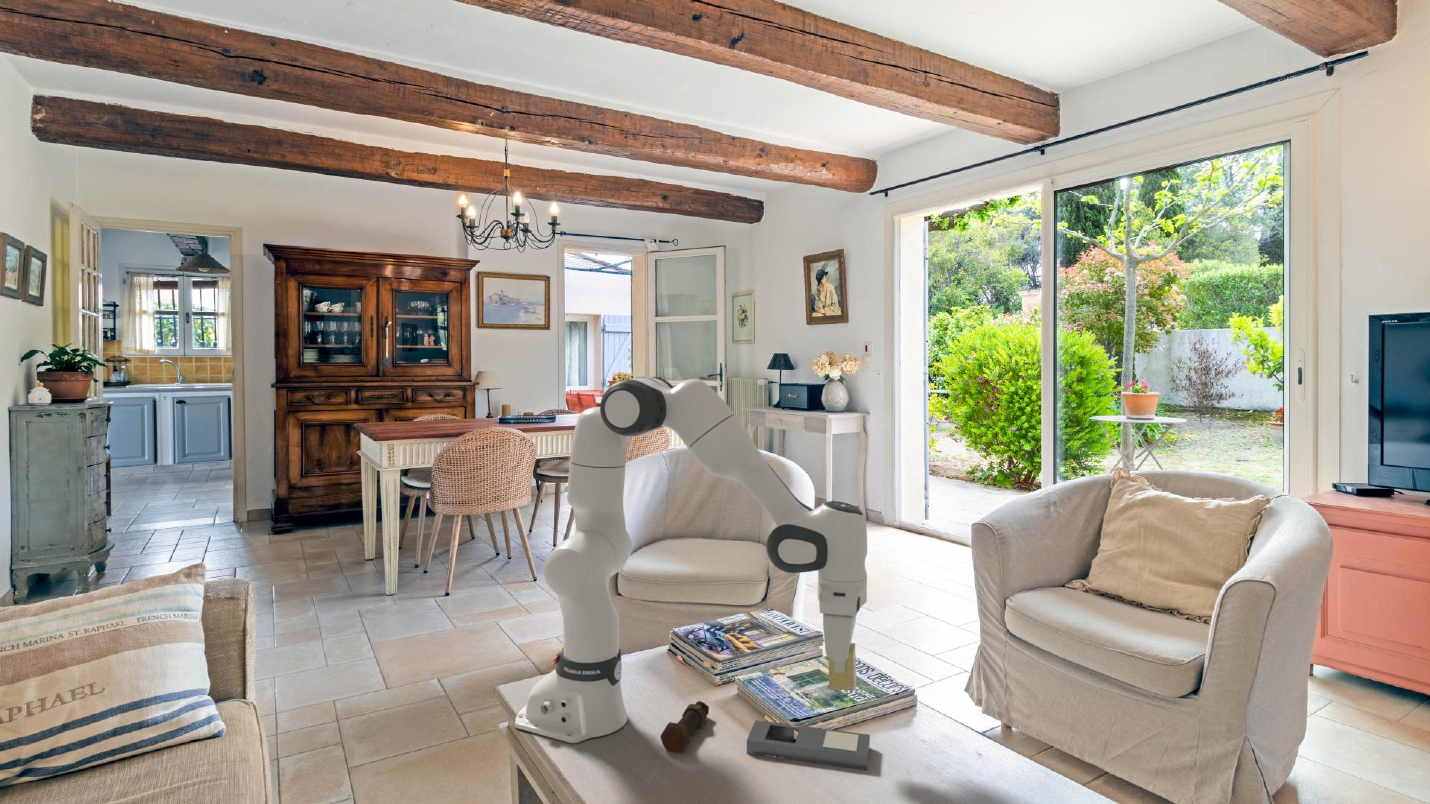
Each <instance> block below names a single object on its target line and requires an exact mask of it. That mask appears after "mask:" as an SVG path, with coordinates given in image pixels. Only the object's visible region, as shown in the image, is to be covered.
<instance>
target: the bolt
mask: <svg viewBox="0 0 1430 804" xmlns="http://www.w3.org/2000/svg"><path fill="white" fill-rule="evenodd" d="M709 710H710V707H709V705H708V704H706V703H705V702H703V701H700V700H699V701H696V703H689V704H688V705H687V707H686V708H685V710H684V711H683V713H682V715H681V719H680V720H679V721H677V722H671V721H670V722H668V723H667V725H666V726H665V727H664V729H663V731H662V733H661V735H660V740H661V743H662V745H663V747H664V749H665V750H666V751H667V752H670V753H675V754H683V752H684V751H685V750H686V749H687V747H688V745H689V744H690V742H691V740H692V738H691V736H690V735H691V734H692V733H693V732H694V730H700V729H701V728H702V727H703V725H704V724H705V722H706V720H707V719H708V717H707V716H708V714H709V712H710V711H709Z"/></svg>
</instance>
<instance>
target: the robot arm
mask: <svg viewBox="0 0 1430 804" xmlns="http://www.w3.org/2000/svg"><path fill="white" fill-rule="evenodd" d="M599 405H600V406H592V407H589V408H587V409H585V410H583V411H582V412H581V413H580V414H579V415H578V417H577V421H576V424H575V427H574V430H573V435H572V440H571V446H570V454H569V455H570V456H569V462H568V463H569V465H568V479H567V494H566V499H567V502H568V504H569V505H570V507H571V508H572V511H573V516H574V520H575V521H574V523H575V530H574V534H573V536H570V537H569V538H567V539H564V540H563V541H562V542H559V543H558V544H557V546H555V547H554V549H553V550H552V551H551V552H550V554H548V556H547V558H546V560H545V562H544V565H543V576H544V580H545V582H546V584H547V586H548V588H549V589H550V590H551V592H553V593H555V594H556V596H557V599H558V603H559V606H560V611H561V616H562V633H563V637H562V638H563V646H562V648H561V651H559V652H558V653H557V654H556V655H555V657H554V658H552V660H551V662H552V664H551V666H552V667H553V666H556V668H554V670H552V671H550V672H549V673H548V674H546V676H545V677H543V678H542V679H541V680H540V681H538V682H537V683H536V684H534V686H533V688H532V689H531V690H530V691H529V692H530V693H529V695H528V697H527V702H526V703H527V704H526V705H525V706H523V707H522V708H521V709H520V711H519V712H518V713H517V715H516V717H515V719H514V720H515V721H514V727H515V728H516V729H520V730H523V731H527V732H530V733H534V734H536V735H541V736H545V737H547V738H551V739H555V740H557V741H562V742H566V743H569V744H577V743H580V742H583V741H586V740H587V739H591V738H596V737H597V738H598V737H602V736H606V735H610V734H612V733H615V732H616V731H618V730H620V729H621V728H622V727H624V726H625V725H626V723H627V722H628V717H629V716H628V714H627V711H626V706H625V702H624V697H623V692H622V684H621V683H622V682H621V679H622V671H623V664H622V650H621V649H620V623H619V621H620V620H619V619H620V617H619V616H620V615H619V612H618V610H617V609H616V607H615V606H614V605H613V603H612V599H611V595H610V590H609V589H610V588H609V584H610V579H611V578H612V577H613V576H614V575H616V574H617V573H618V572H620V571H622V569H624V567H625V565H626V563H627V562H628V560H629V558H630V557H631V554H632V550H633V543H632V538H631V536H630V534H629V532H628V531H627V525H626V524H627V523H626V519H625V511H624V494H625V493H624V491H625V477H626V466H627V465H626V464H627V452H628V450H627V449H628V447H629V446H628V444H629V442H630V440H631V438H633V437H636V436H640V435H641V436H642V435H649V434H651V433H653V432H655V431H657V430H659V429H663V428H664V427H665V428H668V429H671V430H672V431H673V432H675V434H677V436H678V437H679V438H680V440H681V441H682V443H683V444H684V445H685V447H686V448H687V449H688V451H689V452H690V453H691V455H692V456H693V457H694V459H695V461H697V462H698V463H699V464H700V466H702V467H703V468H704V469H705V470H706V471H707V472H708V473H709V474H710V475H712V476H714V477H718V478H722V479H727V480H730V481H733V482H736V483H738V484H740V485H742V486H743V487H744V488H745V489H747V490H748V491H749V493H751V495H752V496H753V497H754V499H756V500H757V502H758V503H759V505H760V506H761V507H762V508H763V509H764V511H765V513H767V515H768V516H769V517H770V518H771V519H772V521H773V524H774V528H773V529H772V530H771V532H770V534H769V535H768V536H767V541H766V547H765V548H766V553H767V556H768V559H769V560H770V562H771V563H772V564H773V566H775V567H776V568H777V569H778V570H780V571H782V572H784V573H788V574H789V573H790V574H796V573H797V574H799V573H809V572H816V571H817V572H818V573H817V575H818V576H817V601H819V613H820V614H822V625H823V626H822V629H823V639H824V640H823V641H824V642H823V643H824V651H825V654H826V658H827V659H828V658H829V659H834V662H835V672H837V673H844V672H845V664H846V661H845V660H846V659H847V658H848V653H849V648H850V644H851V643H852V638H853V635H854V629H855V625H856V621H857V615H858V613H859V612H860V609H861V608H862V606H864V605H865V604H867V602H868V574H867V573H868V572H867V570H866V569H867V568H866V558H867V555H868V532H867V523H866V518H865V515H864V513H863V511H862V510H861V509H859V507H857V506H855V505H854V504H850V503H847V502H844V501H837V500H836V501H835V500H834V501H833V500H830V501H825V502H823V503H822V504H821V505H820V506H818V507H816V508H815V509H814V508H812V507H810V506H809V505H806V504H805V503H803V502H802V501H800V500H799V499H798V498H797V497H796V496H795V495H794V493H793V492H792V491H791V490H790V489H789V488H788V486H787V484H786V483H785V482H784V481H783V480H782V479H781V477H780V476H779V475H778V474H777V473H776V472H775V470H774V469H773V468H772V466H771V465H770V464H769V463H768V462H767V460H766V459H765V457H764V455H762V453H761V451H760V450H759V449H758V447H757V446H756V444H755V443H754V441H753V439H752V438H751V436H750V434H749V432H748V431H747V429H746V428H745V426H744V425H743V423H742V422H741V421H740V419H739V418H738V417H737V415H736V414H735V413H734V411H733V410H732V409H731V407H730V406H728V404H727V403H726V401H724V399H723V398H722V397H721V396H720V395H719V394H718V393H717V392H716V391H715V390H714V389H713V388H712V387H711V386H709V384H707V382H705V381H704V380H702V379H698V378H690V379H686V380H683V381H681V382H680V383H678V384H677V385H675V386H673V385H672V384H671V383H670V382H669V381H667V380H666V379H663V378H662V377H659V376H658V377H657V376H636V377H632V378H629V379H627V378H626V379H621V380H620V381H617V382H615V383H613V384H612V385H611V386H609V387H608V388H607V390H605V392H604V394H603V395H602V397H601V401H600V404H599ZM555 664H556V665H555Z"/></svg>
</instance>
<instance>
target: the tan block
mask: <svg viewBox="0 0 1430 804" xmlns="http://www.w3.org/2000/svg"><path fill="white" fill-rule="evenodd" d="M827 659H828V661H827V662H828V687H829V689H830V690H838V691H839V690H841V691H842V690H843V691H852V692H855V688H856V682H857V671H856V670H857V666H856V665H857V664H856V663H857V661H856V660H857V659H856V643H854V642H853V643H852V642H851V644H850V648H849V653H848V658H847V659H846V660H845V661H846V664H845V672H844V673H837V672H835V662H834V659H829V658H827ZM829 689H828V690H829Z"/></svg>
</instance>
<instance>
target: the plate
mask: <svg viewBox="0 0 1430 804" xmlns="http://www.w3.org/2000/svg"><path fill="white" fill-rule="evenodd" d="M788 724H789V723H780V722H774V721H767V720H758V719H756V720H755V721H754V722H753V725H752V728H751V730H750V732H749V734H748V737H747V739H746V754H749V753H752V754H751V755H756V754H760V755H759V756H763V755H769V756H768V757H770V756H776V757H775V758H777V757H783V758H782V759H784V758H787V760H791V759H794V760H793V761H799V762H806V763H813V764H814V763H815V764H820V763H824V764H823V765H827V764H828V765H829V766H834V765H837V766H836V767H841V766H843V767H842V768H849V769H857V770H864V771H868V765H869V759H870V757H869V756H870V747H871V746H870V745H871V742H870V741H871V740H870V739H871V734H868V733H867V734H866V733H860V732H851V731H844V730H838V729H837V730H836V729H829V728H828V729H827V728H821V727H813V726H806V725H805V726H804V725H799V726H800V727H792V726H790V725H791V724H790V725H788ZM794 730H795V731H797V732H798V735H797V739H796V741H795V742H787V741H780V740H779V739H781V740H786V739H787V740H788V741H793V740H795V739H794ZM771 737H772V738H773V739H778V740H779V741H778V740H773V739H772V738H771ZM771 739H772V740H771ZM753 753H754V754H753Z"/></svg>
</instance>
